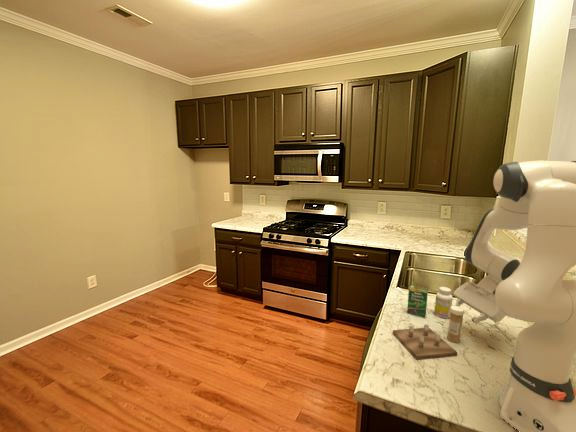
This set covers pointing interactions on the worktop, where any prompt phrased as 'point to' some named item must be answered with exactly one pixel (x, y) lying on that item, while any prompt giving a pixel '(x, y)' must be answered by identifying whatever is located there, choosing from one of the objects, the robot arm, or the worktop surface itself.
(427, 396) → the worktop surface
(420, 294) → the coffee box
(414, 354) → the pin board
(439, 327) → the worktop surface
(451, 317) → the sprinkles bottle
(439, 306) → the supplement bottle
